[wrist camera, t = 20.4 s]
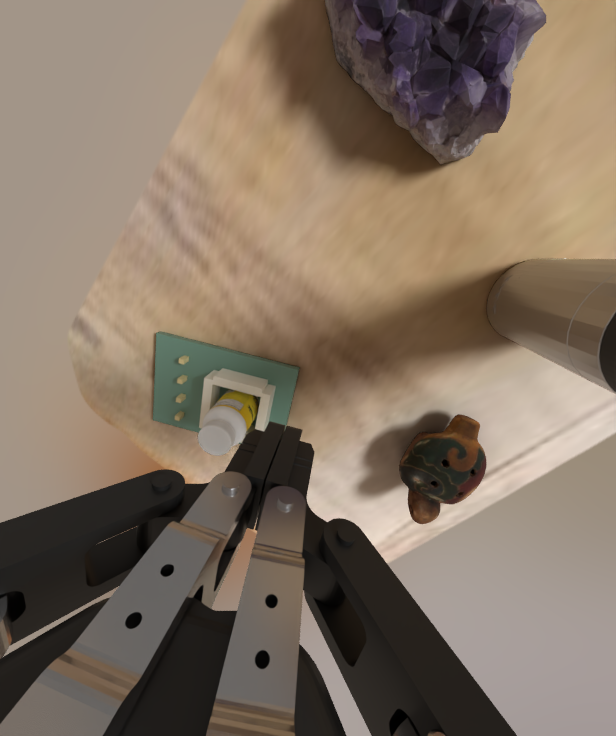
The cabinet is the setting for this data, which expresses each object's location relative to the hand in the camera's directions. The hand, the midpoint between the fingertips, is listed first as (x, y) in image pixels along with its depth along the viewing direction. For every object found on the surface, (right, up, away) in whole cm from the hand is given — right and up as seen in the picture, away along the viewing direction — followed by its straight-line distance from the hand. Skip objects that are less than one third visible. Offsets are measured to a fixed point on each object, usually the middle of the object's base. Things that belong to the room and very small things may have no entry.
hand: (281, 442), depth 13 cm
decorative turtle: (+19, -8, +30) cm, 36 cm away
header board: (-11, -1, +31) cm, 33 cm away
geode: (+11, +32, +16) cm, 38 cm away
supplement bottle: (-8, -2, +30) cm, 31 cm away
